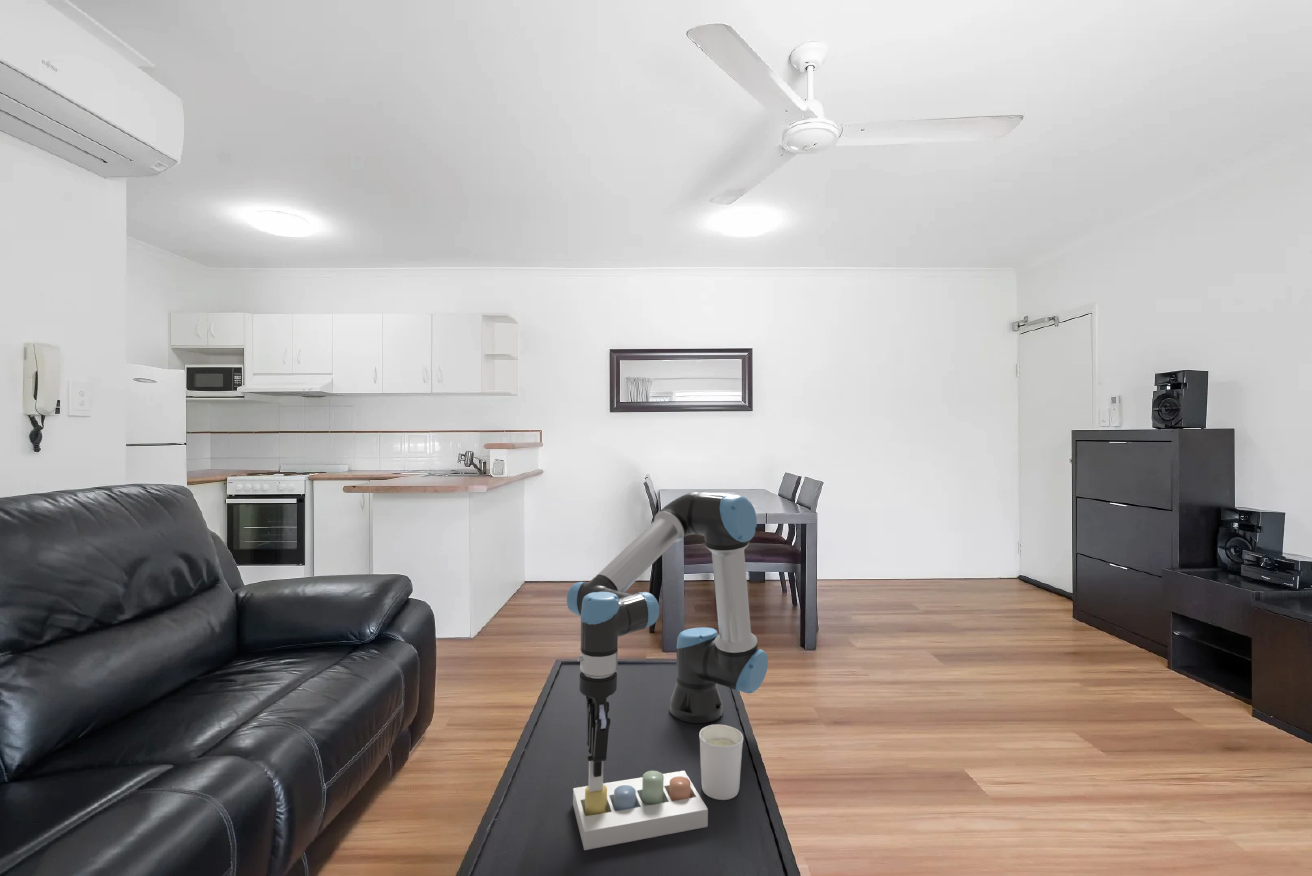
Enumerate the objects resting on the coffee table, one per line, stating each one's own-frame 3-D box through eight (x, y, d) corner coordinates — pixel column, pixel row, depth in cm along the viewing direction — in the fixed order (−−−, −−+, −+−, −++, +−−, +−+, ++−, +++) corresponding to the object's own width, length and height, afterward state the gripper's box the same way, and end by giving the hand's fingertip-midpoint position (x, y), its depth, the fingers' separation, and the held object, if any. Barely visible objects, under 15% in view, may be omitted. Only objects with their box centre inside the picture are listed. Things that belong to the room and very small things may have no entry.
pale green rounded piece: (659, 790, 121) (660, 769, 121) (666, 803, 117) (666, 781, 117) (639, 793, 120) (640, 772, 120) (645, 806, 116) (645, 784, 116)
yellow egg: (604, 803, 118) (604, 781, 118) (608, 816, 114) (609, 794, 114) (583, 807, 116) (583, 784, 117) (586, 820, 112) (587, 797, 112)
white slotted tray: (684, 786, 128) (684, 770, 128) (707, 826, 115) (707, 809, 115) (572, 804, 121) (573, 788, 121) (584, 850, 107) (584, 831, 107)
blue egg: (632, 805, 119) (632, 783, 120) (637, 818, 115) (638, 796, 115) (611, 808, 118) (612, 786, 118) (616, 822, 114) (616, 799, 114)
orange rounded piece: (685, 795, 123) (686, 774, 123) (693, 808, 119) (693, 786, 119) (666, 799, 122) (666, 778, 122) (673, 812, 117) (673, 790, 118)
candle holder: (731, 808, 120) (732, 751, 121) (690, 792, 126) (691, 737, 126) (749, 785, 129) (750, 731, 129) (710, 771, 134) (711, 720, 134)
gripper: (575, 661, 120) (572, 773, 120) (585, 686, 108) (582, 811, 108) (609, 658, 123) (607, 768, 122) (624, 682, 110) (621, 805, 110)
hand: (595, 788), depth 115 cm, fingers closed
